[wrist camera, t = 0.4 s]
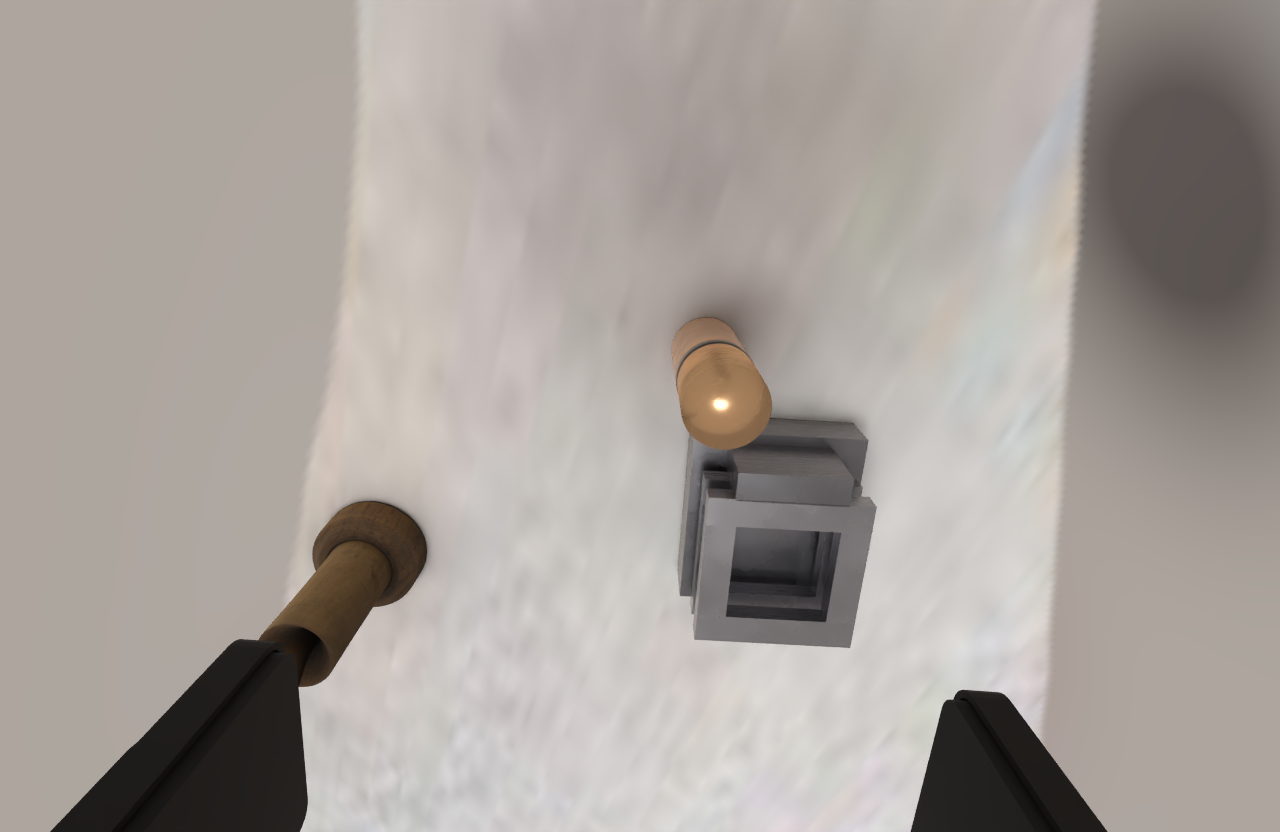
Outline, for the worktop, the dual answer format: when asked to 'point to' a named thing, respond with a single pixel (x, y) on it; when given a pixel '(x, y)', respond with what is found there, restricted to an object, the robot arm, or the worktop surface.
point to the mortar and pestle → (348, 584)
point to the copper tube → (718, 386)
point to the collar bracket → (777, 535)
